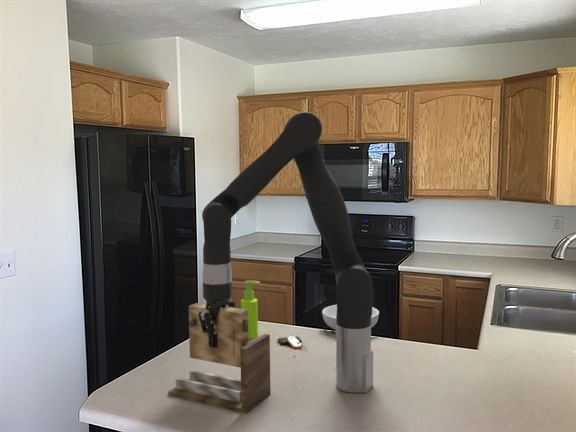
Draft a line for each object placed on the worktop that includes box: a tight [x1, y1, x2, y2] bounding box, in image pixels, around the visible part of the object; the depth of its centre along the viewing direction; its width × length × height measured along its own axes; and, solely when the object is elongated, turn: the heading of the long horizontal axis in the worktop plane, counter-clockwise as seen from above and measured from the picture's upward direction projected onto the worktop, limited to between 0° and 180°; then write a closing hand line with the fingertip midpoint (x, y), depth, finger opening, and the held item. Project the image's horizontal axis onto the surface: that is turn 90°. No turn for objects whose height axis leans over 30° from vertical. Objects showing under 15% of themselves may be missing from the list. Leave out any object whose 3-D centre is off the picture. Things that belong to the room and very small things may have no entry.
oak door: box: [188, 302, 249, 369], centre depth 133 cm, size 17×5×14 cm, turn 63°
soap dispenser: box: [240, 280, 261, 340], centre depth 181 cm, size 6×7×20 cm
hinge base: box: [167, 333, 271, 414], centre depth 134 cm, size 24×12×16 cm, turn 63°
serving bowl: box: [321, 304, 380, 331], centre depth 190 cm, size 21×21×7 cm
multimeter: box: [277, 335, 308, 358], centre depth 170 cm, size 18×12×3 cm, turn 11°
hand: (218, 344), depth 134 cm, fingers closed on oak door, 4 cm apart
